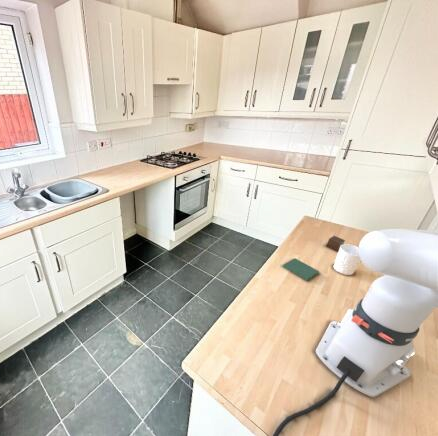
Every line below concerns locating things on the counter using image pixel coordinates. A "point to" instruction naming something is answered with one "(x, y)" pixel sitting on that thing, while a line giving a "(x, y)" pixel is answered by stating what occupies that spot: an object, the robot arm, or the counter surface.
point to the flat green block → (301, 269)
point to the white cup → (347, 259)
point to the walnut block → (335, 243)
